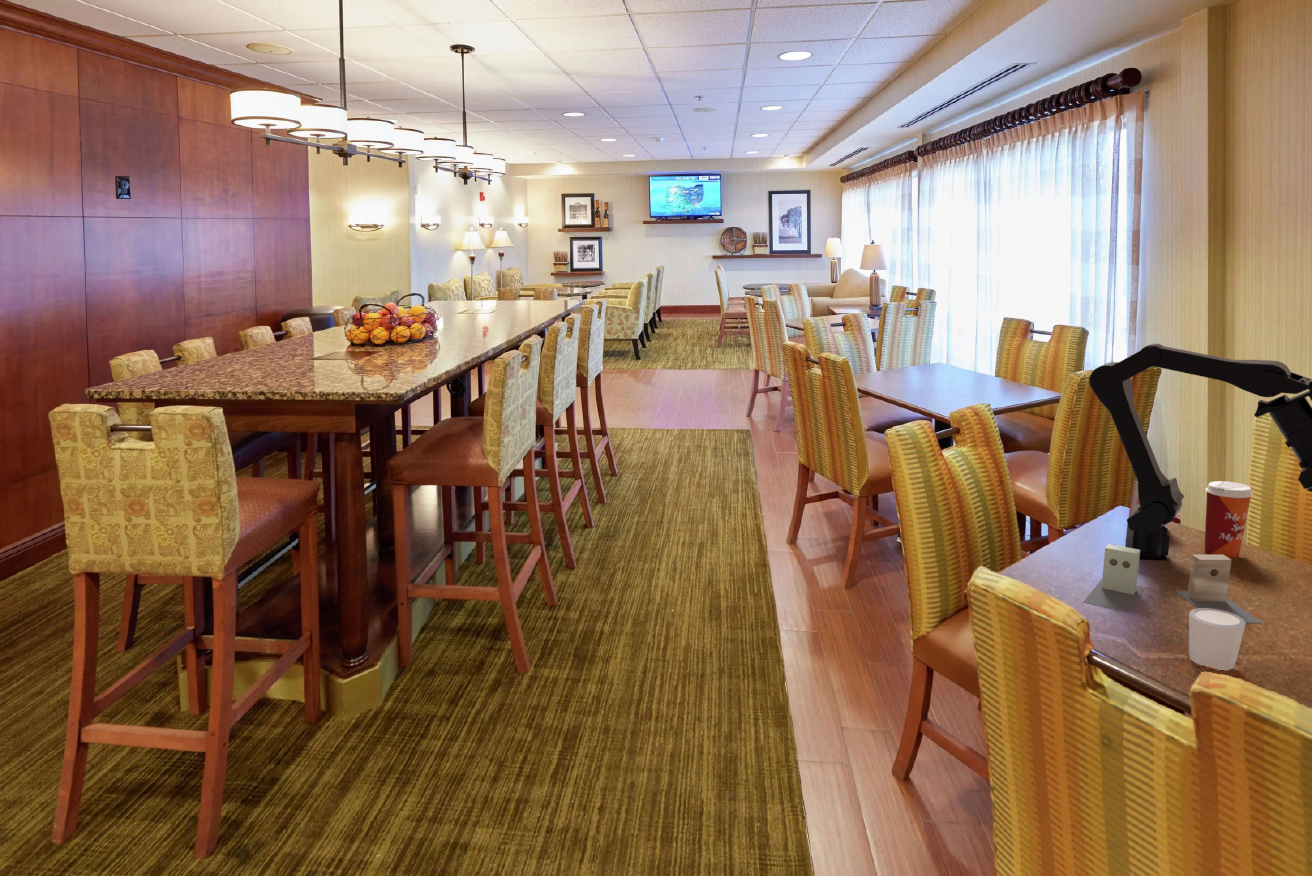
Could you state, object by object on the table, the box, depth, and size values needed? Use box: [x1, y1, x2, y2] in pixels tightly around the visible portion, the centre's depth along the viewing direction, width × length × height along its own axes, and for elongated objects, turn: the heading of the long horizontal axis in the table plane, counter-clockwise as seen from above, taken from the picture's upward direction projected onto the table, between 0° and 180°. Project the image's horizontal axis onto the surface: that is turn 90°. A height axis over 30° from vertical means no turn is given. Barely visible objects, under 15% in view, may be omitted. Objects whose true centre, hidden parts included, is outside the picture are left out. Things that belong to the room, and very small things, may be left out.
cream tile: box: [1187, 554, 1232, 602], centre depth 143 cm, size 2×5×8 cm, turn 85°
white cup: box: [1188, 608, 1247, 672], centre depth 123 cm, size 7×7×7 cm
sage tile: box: [1101, 543, 1140, 595], centre depth 148 cm, size 2×5×8 cm, turn 50°
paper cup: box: [1204, 480, 1254, 559], centre depth 164 cm, size 8×8×14 cm
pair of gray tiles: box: [1083, 578, 1263, 624], centre depth 144 cm, size 25×18×1 cm
